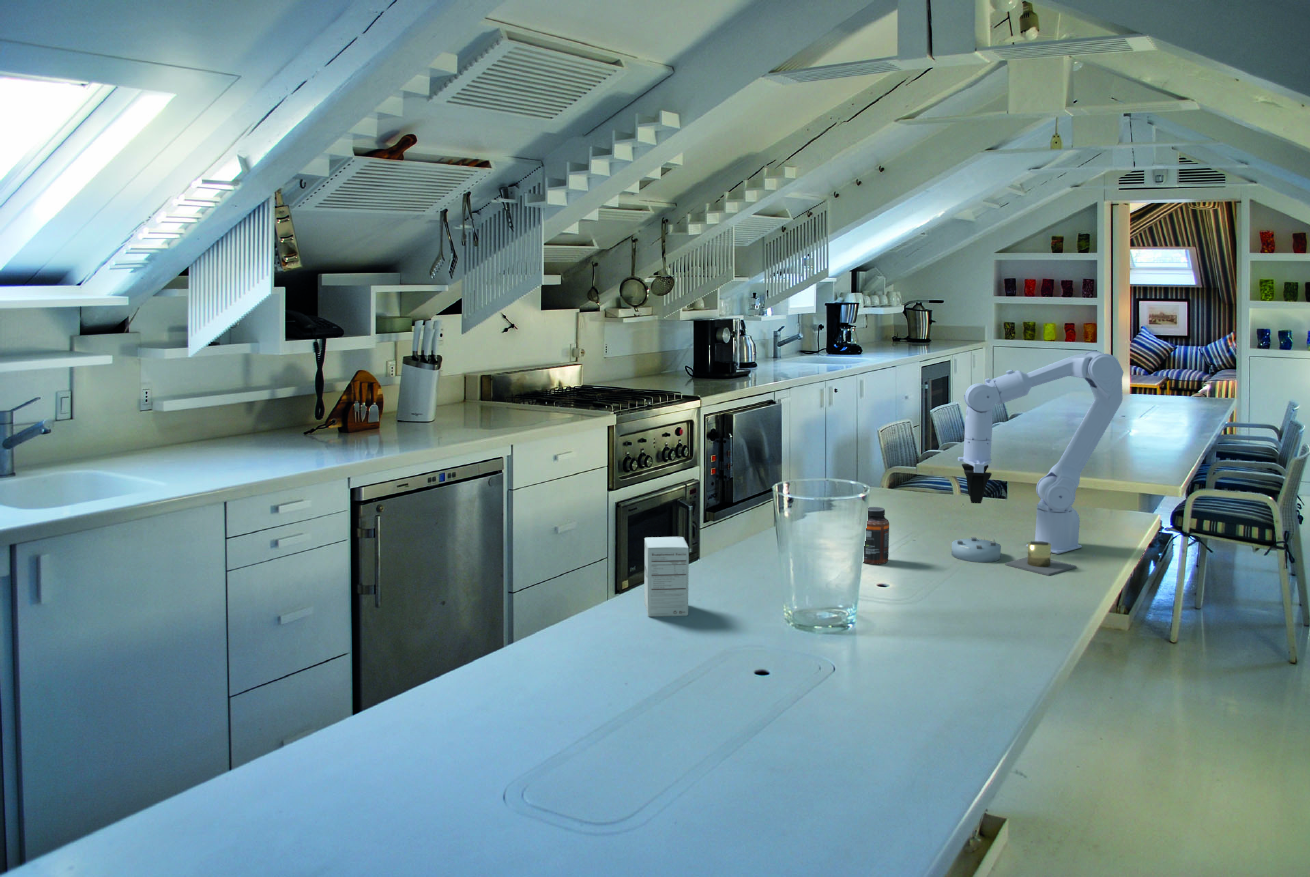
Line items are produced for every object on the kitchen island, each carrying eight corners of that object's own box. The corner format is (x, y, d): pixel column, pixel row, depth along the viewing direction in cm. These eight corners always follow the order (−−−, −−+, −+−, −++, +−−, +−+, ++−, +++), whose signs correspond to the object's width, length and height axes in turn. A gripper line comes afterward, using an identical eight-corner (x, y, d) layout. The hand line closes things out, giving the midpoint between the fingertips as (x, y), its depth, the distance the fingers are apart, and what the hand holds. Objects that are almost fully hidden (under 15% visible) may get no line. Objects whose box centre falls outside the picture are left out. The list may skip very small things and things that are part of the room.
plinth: (970, 547, 233) (971, 533, 233) (1009, 557, 225) (1010, 543, 225) (941, 554, 227) (942, 540, 227) (981, 564, 219) (981, 550, 219)
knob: (1051, 561, 220) (1051, 540, 219) (1050, 567, 216) (1050, 545, 215) (1028, 559, 221) (1028, 538, 221) (1026, 565, 217) (1027, 544, 217)
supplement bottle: (886, 558, 224) (888, 505, 223) (889, 565, 218) (892, 512, 217) (857, 557, 225) (859, 505, 223) (860, 564, 219) (862, 511, 217)
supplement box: (643, 604, 192) (643, 536, 190) (684, 603, 193) (684, 535, 191) (646, 617, 185) (646, 547, 183) (688, 616, 186) (689, 546, 184)
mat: (1033, 557, 225) (1033, 555, 225) (1076, 567, 218) (1076, 565, 217) (1005, 564, 219) (1005, 562, 219) (1048, 575, 212) (1048, 573, 212)
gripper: (957, 433, 239) (954, 491, 242) (960, 442, 225) (957, 505, 228) (989, 434, 238) (986, 493, 240) (995, 444, 224) (992, 507, 226)
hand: (974, 499), depth 234 cm, fingers open, 7 cm apart
